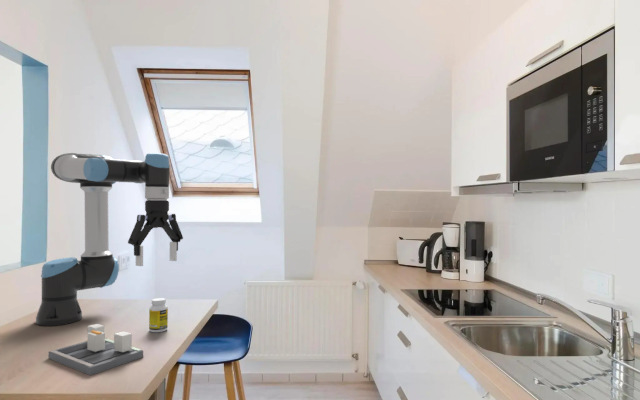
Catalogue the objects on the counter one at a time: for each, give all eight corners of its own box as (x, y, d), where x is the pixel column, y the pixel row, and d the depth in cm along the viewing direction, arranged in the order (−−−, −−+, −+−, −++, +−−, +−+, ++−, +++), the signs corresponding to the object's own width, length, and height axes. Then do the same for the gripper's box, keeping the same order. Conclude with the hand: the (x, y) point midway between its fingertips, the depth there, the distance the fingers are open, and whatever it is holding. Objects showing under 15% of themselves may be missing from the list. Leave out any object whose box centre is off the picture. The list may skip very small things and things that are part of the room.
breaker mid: (87, 349, 127) (87, 331, 127) (97, 346, 130) (97, 329, 130) (95, 351, 125) (95, 334, 125) (104, 348, 128) (105, 331, 128)
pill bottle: (161, 333, 151) (161, 301, 151) (145, 332, 152) (145, 300, 152) (171, 328, 157) (171, 297, 157) (155, 327, 158) (155, 297, 158)
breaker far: (87, 341, 135) (87, 326, 135) (97, 338, 137) (97, 323, 137) (94, 343, 132) (94, 328, 132) (104, 340, 135) (104, 325, 135)
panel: (48, 358, 127) (48, 351, 127) (100, 343, 140) (101, 336, 140) (90, 375, 115) (90, 367, 115) (143, 357, 128) (143, 349, 128)
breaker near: (114, 349, 127) (114, 333, 127) (123, 346, 130) (123, 331, 130) (122, 352, 125) (122, 336, 125) (131, 349, 127) (131, 333, 127)
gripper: (131, 199, 132) (131, 269, 132) (193, 199, 154) (193, 259, 154) (116, 199, 136) (115, 267, 136) (178, 199, 157) (178, 258, 157)
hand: (156, 263), depth 145 cm, fingers open, 13 cm apart
